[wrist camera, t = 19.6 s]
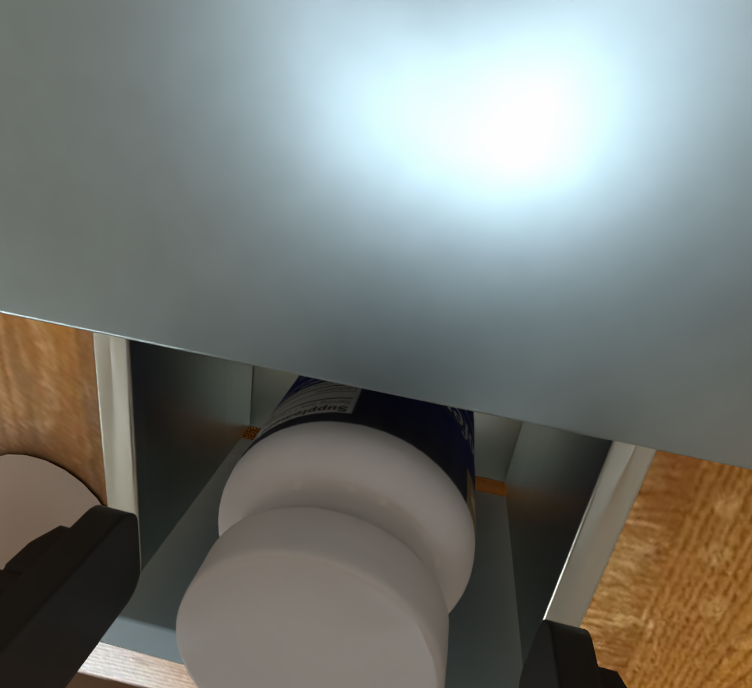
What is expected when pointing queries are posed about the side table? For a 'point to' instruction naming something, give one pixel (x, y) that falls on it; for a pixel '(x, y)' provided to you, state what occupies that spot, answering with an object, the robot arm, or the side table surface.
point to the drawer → (253, 408)
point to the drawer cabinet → (401, 198)
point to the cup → (36, 501)
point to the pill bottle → (337, 547)
